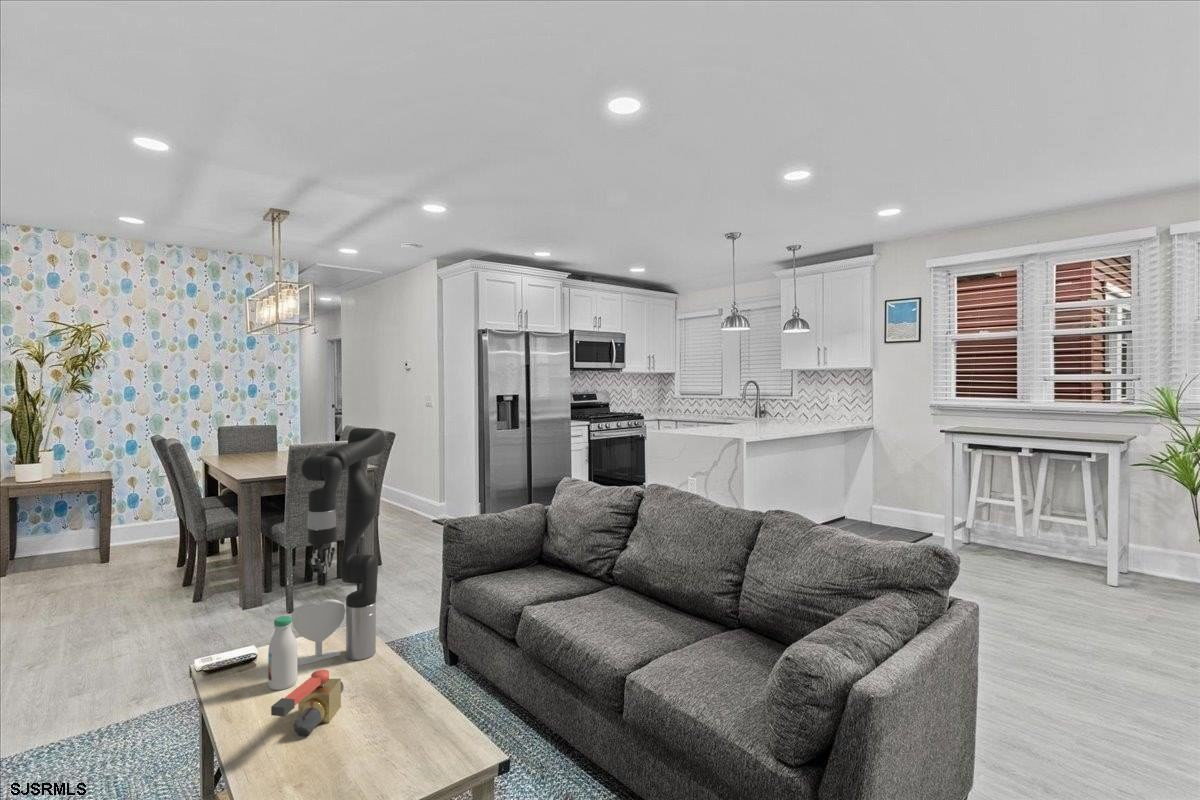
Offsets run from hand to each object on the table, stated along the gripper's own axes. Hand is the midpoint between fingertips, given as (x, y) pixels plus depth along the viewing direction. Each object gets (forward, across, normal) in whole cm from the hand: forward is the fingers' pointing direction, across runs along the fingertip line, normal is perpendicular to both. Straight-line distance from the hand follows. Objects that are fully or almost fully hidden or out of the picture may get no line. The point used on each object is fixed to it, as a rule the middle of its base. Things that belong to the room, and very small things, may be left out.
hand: (322, 584), depth 175 cm
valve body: (+32, +11, +4) cm, 34 cm away
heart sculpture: (+32, -24, -11) cm, 42 cm away
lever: (+23, +19, +3) cm, 29 cm away
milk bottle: (+32, -6, -14) cm, 36 cm away
